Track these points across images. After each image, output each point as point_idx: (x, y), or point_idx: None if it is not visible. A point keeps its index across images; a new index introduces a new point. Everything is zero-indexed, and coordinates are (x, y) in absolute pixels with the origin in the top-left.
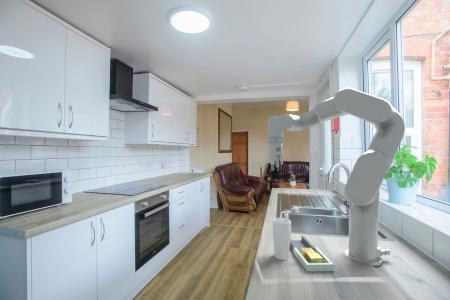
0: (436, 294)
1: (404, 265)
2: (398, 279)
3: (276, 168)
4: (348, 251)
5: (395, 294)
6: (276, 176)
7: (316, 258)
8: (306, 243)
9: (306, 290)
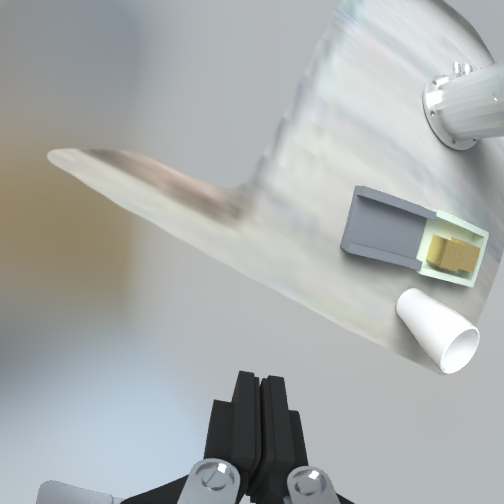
0: None
1: None
2: None
3: None
4: (439, 122)
5: None
6: (296, 417)
7: (476, 260)
8: (396, 207)
9: (478, 303)
